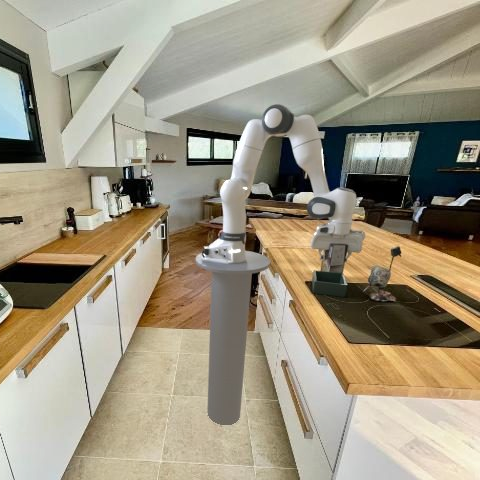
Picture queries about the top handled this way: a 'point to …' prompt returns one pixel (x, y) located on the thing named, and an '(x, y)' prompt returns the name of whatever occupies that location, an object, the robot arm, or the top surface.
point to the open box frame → (329, 283)
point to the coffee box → (334, 258)
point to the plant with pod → (382, 279)
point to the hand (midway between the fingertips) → (332, 260)
